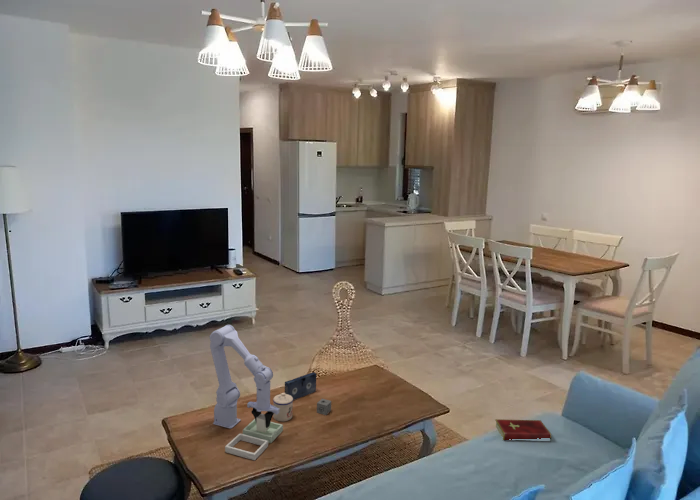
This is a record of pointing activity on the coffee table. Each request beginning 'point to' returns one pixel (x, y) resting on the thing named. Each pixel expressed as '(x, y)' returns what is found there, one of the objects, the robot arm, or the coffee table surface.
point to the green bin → (268, 435)
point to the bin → (243, 453)
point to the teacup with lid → (283, 407)
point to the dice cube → (323, 406)
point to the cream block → (261, 423)
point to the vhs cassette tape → (301, 386)
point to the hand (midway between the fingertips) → (263, 425)
